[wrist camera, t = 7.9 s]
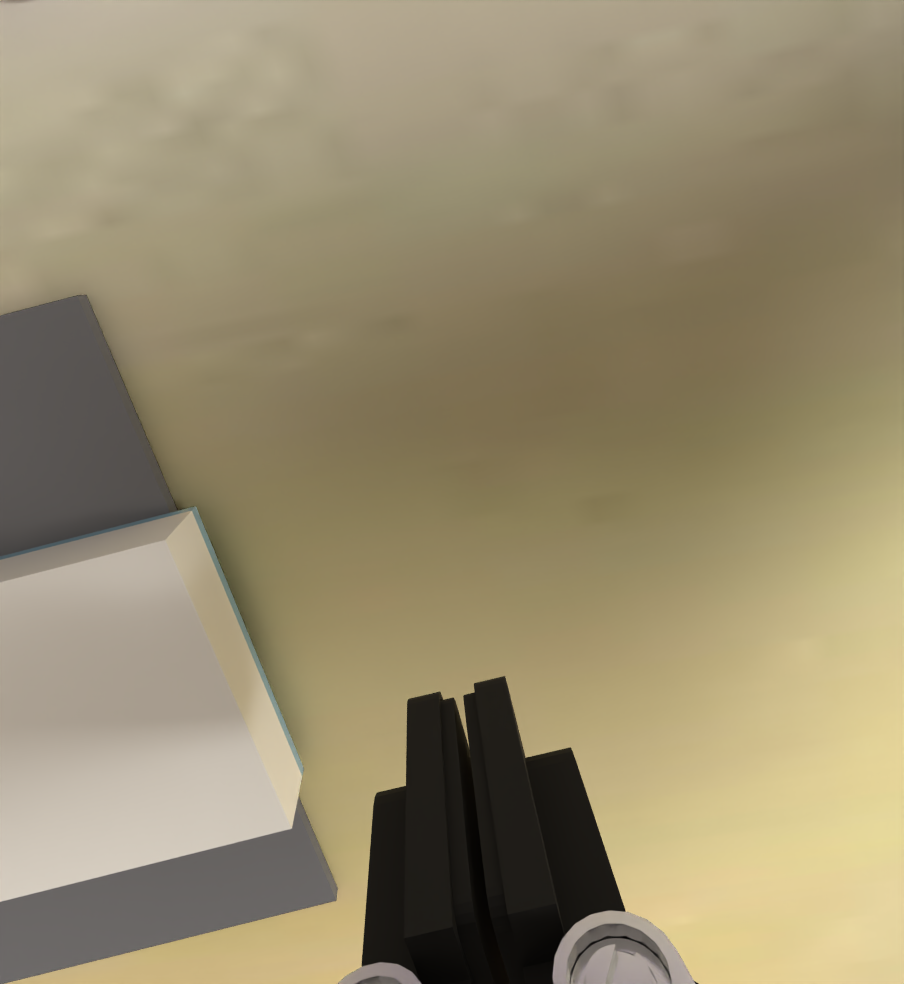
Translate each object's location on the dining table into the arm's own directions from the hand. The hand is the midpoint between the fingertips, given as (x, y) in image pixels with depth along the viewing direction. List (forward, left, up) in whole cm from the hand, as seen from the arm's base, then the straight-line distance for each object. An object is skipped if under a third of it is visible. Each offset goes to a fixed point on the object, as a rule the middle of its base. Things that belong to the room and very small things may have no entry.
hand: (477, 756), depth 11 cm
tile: (+5, 0, -5) cm, 7 cm away
